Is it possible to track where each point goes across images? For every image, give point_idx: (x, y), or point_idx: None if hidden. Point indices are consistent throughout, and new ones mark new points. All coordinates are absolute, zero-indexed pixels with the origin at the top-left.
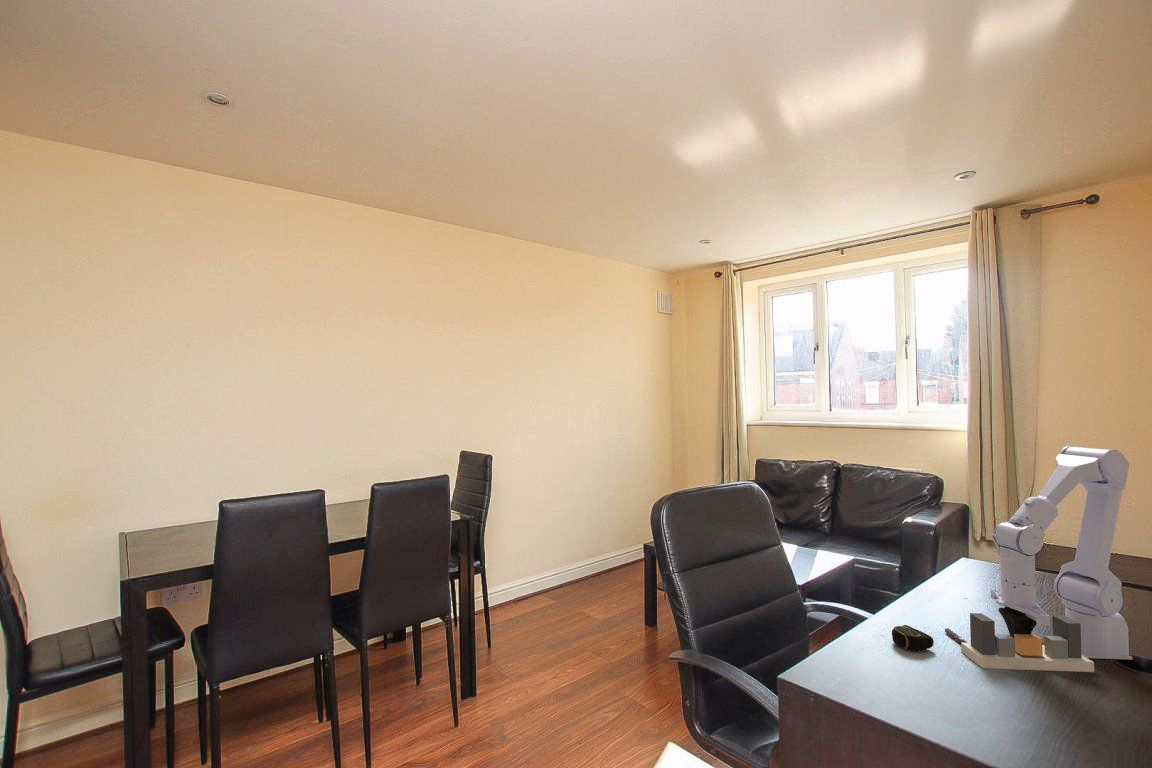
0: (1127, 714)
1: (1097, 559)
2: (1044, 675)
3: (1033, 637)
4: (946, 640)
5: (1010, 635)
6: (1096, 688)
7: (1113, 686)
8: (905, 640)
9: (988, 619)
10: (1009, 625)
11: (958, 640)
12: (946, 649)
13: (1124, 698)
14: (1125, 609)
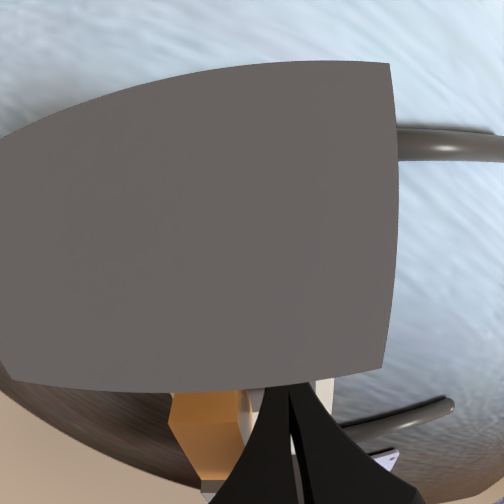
0: (12, 390)
1: None
2: None
3: (209, 465)
4: (438, 89)
5: (306, 394)
6: (109, 420)
7: (143, 451)
8: None
9: (30, 337)
10: (307, 449)
11: (421, 129)
12: (326, 21)
13: (86, 433)
14: (457, 494)
